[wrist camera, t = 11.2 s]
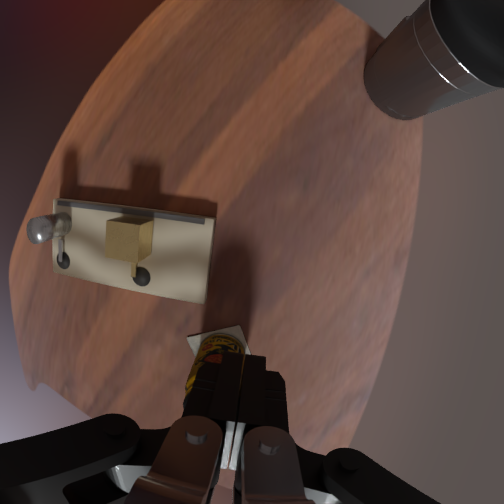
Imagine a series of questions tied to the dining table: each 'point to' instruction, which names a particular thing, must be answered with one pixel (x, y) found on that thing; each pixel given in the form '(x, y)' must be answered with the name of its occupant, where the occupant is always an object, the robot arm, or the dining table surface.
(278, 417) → the robot arm
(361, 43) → the dining table surface
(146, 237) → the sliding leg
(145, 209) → the board
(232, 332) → the condiment
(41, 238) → the silver cylinder with leg
